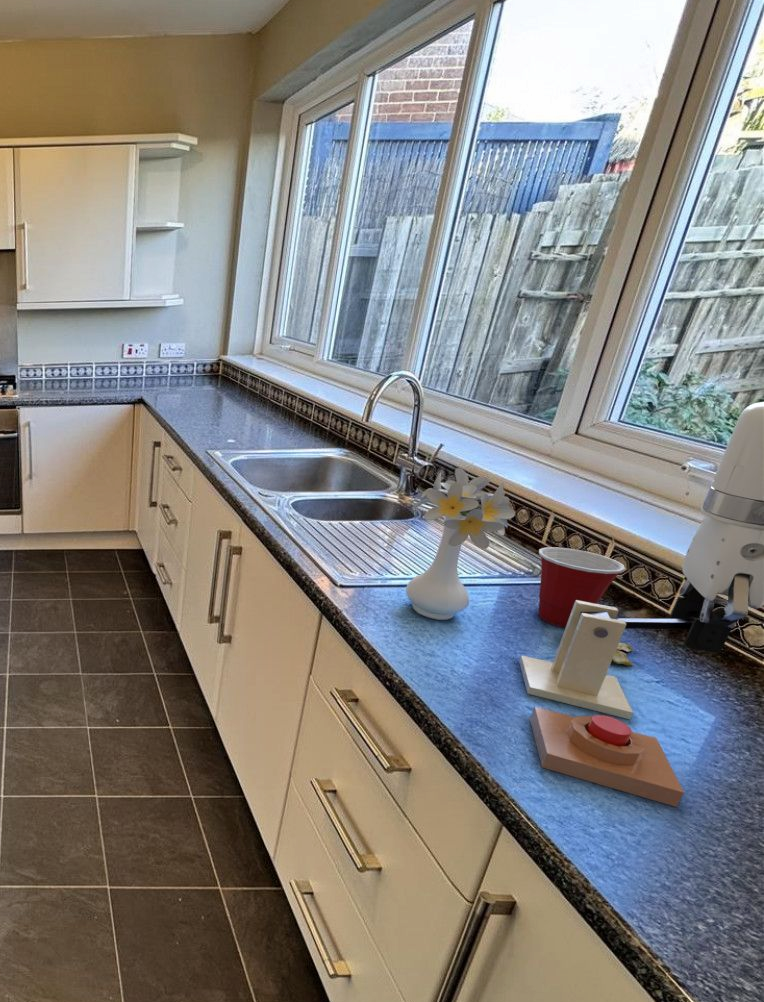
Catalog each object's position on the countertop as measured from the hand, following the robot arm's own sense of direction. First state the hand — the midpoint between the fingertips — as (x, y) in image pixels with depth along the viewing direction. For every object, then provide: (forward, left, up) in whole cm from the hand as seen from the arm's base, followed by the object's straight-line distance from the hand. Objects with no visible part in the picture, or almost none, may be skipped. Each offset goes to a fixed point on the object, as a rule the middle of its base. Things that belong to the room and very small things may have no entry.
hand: (693, 636), depth 80 cm
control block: (+9, +16, -12) cm, 22 cm away
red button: (+9, +16, -8) cm, 20 cm away
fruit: (+3, -14, -12) cm, 19 cm away
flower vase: (+25, -15, -12) cm, 32 cm away
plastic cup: (+7, -23, -12) cm, 27 cm away
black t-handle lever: (+5, 0, -1) cm, 5 cm away
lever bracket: (+9, 0, -12) cm, 15 cm away
